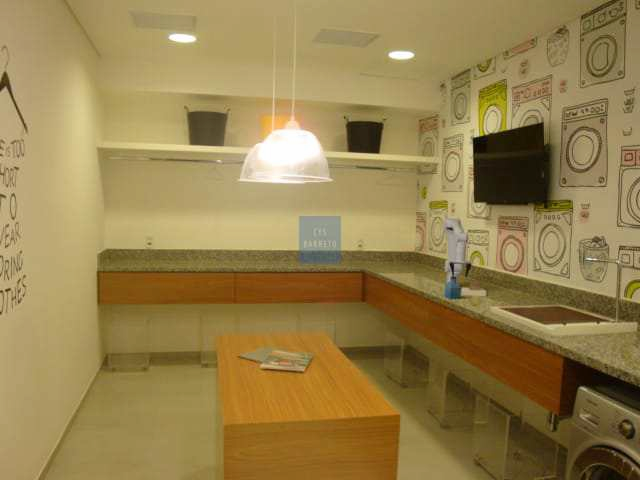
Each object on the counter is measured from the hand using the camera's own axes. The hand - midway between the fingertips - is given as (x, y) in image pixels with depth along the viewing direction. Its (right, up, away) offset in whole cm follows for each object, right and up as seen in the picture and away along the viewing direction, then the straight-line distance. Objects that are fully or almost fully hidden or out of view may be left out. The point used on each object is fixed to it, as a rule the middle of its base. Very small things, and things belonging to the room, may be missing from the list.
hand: (459, 276), depth 307 cm
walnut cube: (+7, -8, -4) cm, 11 cm away
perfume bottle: (-9, -11, -19) cm, 24 cm away
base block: (+7, -11, -3) cm, 13 cm away
